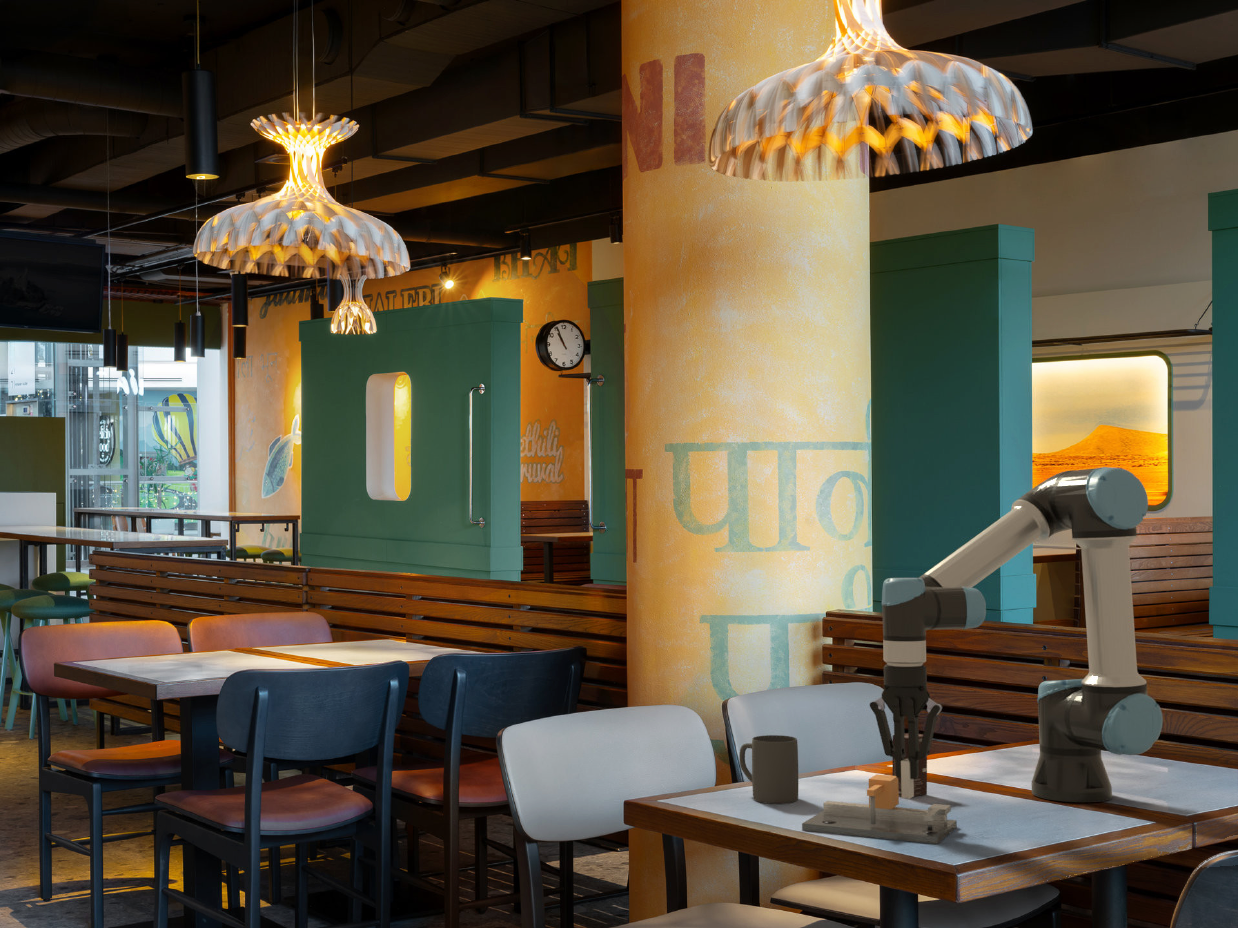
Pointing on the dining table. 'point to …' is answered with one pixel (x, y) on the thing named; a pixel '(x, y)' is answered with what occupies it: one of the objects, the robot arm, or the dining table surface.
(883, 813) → the beam
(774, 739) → the mug
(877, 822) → the plate
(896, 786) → the jaw
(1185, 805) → the dining table surface
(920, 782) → the box
